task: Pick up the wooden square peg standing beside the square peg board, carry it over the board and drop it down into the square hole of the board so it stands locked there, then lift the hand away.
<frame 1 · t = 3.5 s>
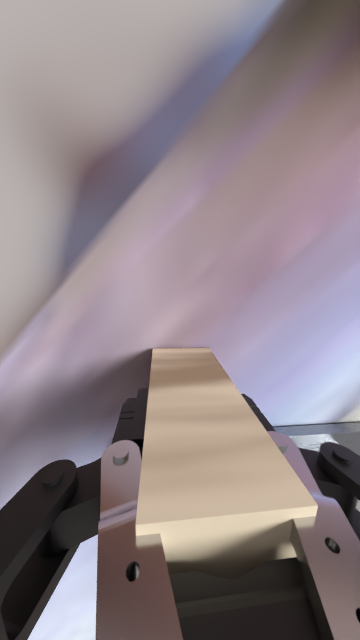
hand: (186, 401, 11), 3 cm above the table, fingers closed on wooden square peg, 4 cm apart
wooden square peg: (180, 373, 14), on the table, touching gripper
square peg board: (254, 494, 18), on the table
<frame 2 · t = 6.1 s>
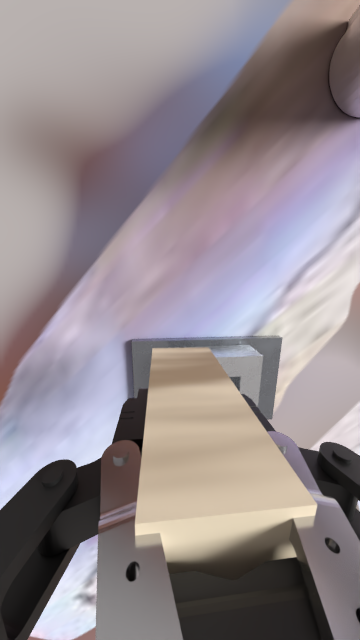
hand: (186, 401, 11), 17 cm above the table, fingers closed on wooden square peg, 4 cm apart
wooden square peg: (180, 373, 14), point 14 cm above the table, touching gripper
square peg board: (206, 380, 31), on the table
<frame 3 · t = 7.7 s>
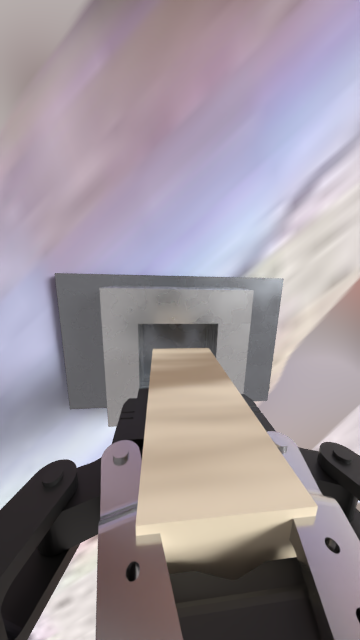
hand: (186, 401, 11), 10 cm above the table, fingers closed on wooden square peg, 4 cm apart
wooden square peg: (180, 374, 14), point 7 cm above the table, touching gripper
square peg board: (174, 341, 21), on the table
when the fingers open (6 cm above the table, at t = 9.0 s): wooden square peg drops 2 cm, resting on square peg board.
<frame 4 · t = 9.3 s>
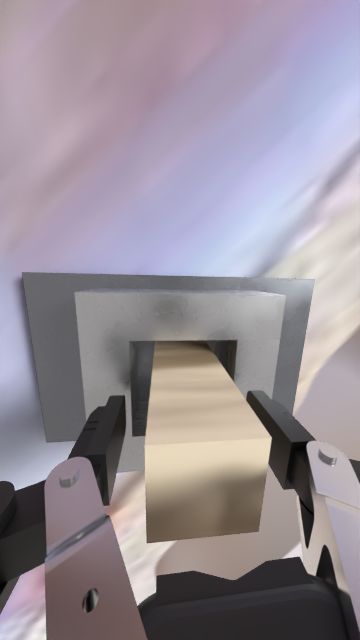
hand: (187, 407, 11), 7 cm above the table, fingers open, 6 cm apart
wooden square peg: (179, 363, 16), point 1 cm above the table, touching square peg board
square peg board: (176, 357, 17), on the table
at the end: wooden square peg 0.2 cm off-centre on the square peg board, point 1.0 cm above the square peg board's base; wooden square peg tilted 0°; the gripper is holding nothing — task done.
